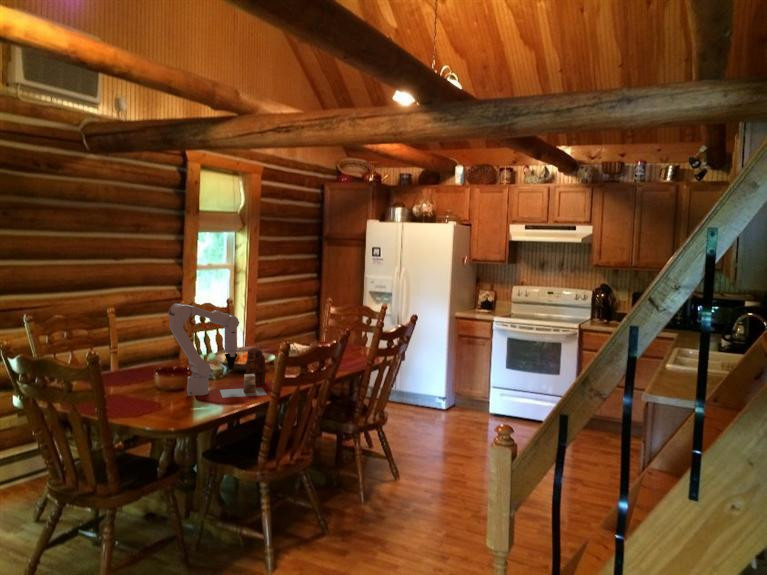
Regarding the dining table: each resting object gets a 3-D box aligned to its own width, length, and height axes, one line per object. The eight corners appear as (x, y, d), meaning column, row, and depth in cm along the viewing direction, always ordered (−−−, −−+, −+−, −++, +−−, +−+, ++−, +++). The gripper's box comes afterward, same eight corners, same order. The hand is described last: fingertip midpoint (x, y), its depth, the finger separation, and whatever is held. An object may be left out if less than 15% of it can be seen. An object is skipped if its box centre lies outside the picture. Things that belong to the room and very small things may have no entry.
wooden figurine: (241, 383, 310) (241, 347, 308) (249, 381, 315) (249, 346, 314) (259, 386, 304) (260, 350, 302) (268, 384, 310) (268, 348, 308)
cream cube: (245, 385, 288) (245, 376, 287) (243, 382, 292) (244, 374, 292) (255, 384, 289) (255, 376, 289) (253, 382, 293) (253, 373, 293)
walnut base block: (244, 393, 288) (244, 385, 287) (243, 391, 292) (243, 382, 292) (255, 393, 290) (255, 384, 289) (254, 390, 294) (254, 382, 294)
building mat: (222, 399, 280) (222, 397, 280) (219, 391, 293) (219, 389, 293) (267, 396, 287) (267, 394, 287) (262, 389, 300) (262, 387, 300)
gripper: (241, 343, 288) (241, 371, 290) (237, 337, 302) (237, 365, 303) (225, 343, 286) (225, 372, 287) (222, 338, 299) (222, 365, 301)
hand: (230, 368), depth 295 cm, fingers closed
